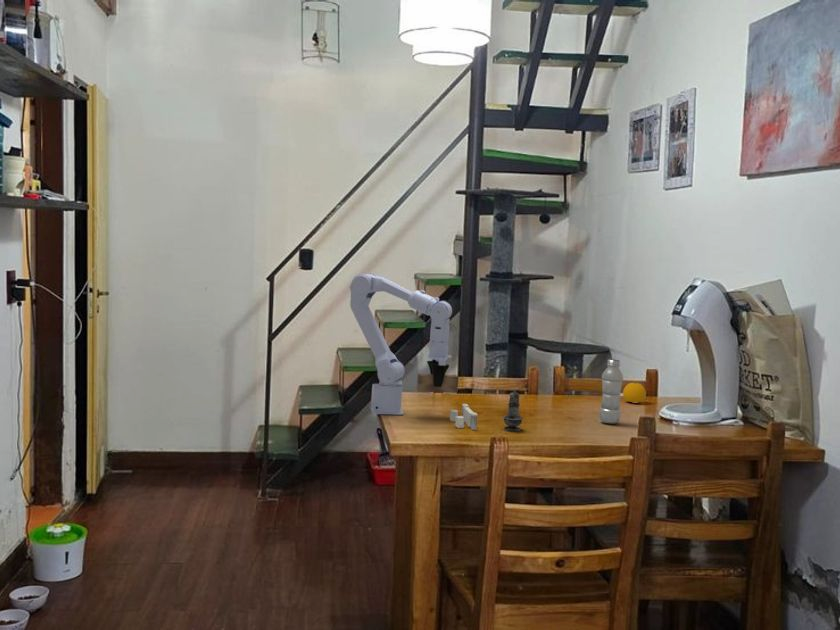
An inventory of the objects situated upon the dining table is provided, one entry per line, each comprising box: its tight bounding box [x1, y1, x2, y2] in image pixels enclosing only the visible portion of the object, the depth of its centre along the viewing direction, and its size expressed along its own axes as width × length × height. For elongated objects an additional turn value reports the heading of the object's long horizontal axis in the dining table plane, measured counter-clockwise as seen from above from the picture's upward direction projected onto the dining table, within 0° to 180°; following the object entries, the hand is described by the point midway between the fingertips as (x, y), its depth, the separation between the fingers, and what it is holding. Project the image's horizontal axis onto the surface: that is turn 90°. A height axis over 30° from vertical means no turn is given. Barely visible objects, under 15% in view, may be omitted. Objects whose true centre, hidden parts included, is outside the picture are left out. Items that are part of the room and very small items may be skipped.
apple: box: [622, 382, 647, 403], centre depth 291 cm, size 8×8×8 cm
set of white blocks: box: [449, 403, 478, 431], centre depth 241 cm, size 6×15×4 cm, turn 8°
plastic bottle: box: [598, 358, 624, 425], centre depth 252 cm, size 6×7×20 cm
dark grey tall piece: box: [502, 388, 524, 433], centre depth 237 cm, size 6×6×12 cm
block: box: [416, 373, 459, 394], centre depth 248 cm, size 12×4×5 cm, turn 99°
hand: (436, 385), depth 248 cm, fingers closed on block, 3 cm apart
